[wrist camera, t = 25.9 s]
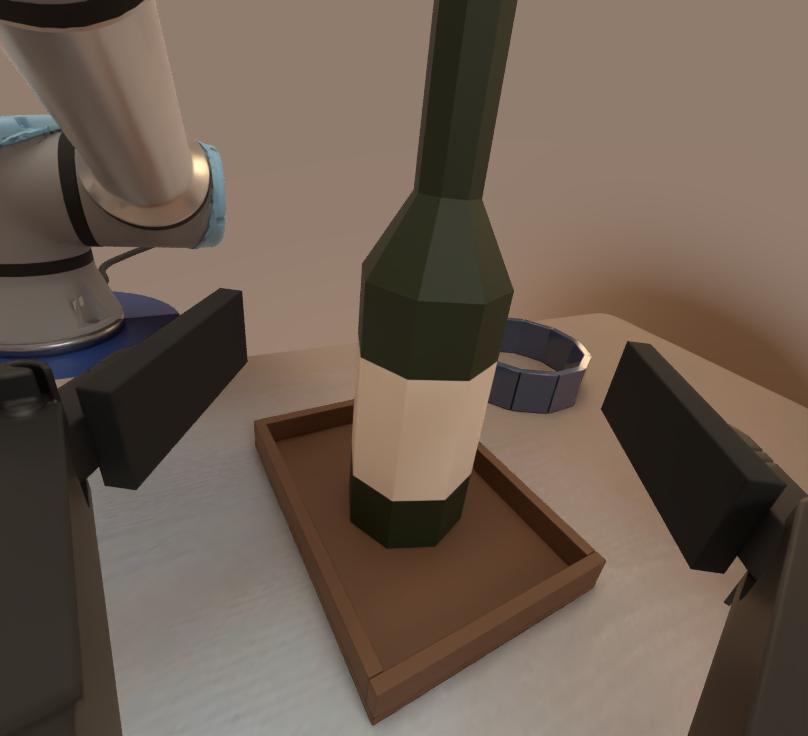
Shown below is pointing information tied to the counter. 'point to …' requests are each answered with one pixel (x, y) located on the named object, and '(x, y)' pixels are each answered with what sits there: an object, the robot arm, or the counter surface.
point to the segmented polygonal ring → (539, 386)
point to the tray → (419, 563)
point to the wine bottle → (434, 298)
